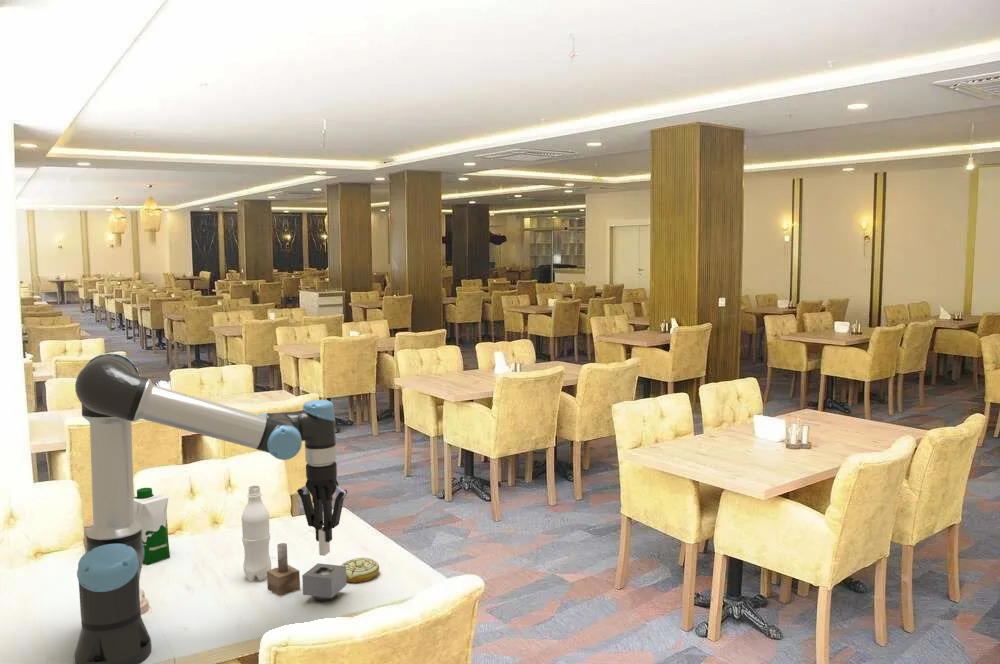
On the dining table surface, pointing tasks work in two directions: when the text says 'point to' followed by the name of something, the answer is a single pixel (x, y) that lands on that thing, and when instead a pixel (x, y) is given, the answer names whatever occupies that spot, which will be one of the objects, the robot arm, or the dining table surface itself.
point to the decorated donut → (360, 569)
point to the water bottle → (256, 536)
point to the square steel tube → (324, 580)
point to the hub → (324, 599)
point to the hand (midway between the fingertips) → (324, 553)
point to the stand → (283, 574)
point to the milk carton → (152, 524)
